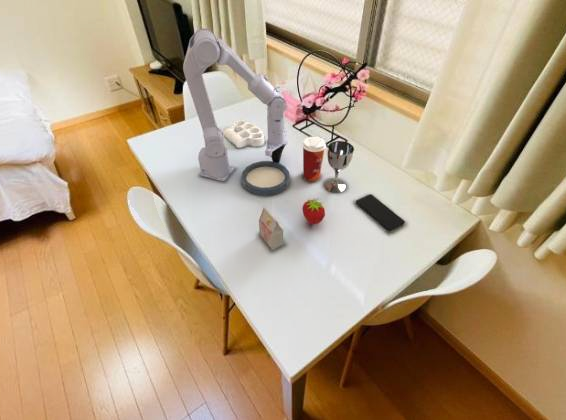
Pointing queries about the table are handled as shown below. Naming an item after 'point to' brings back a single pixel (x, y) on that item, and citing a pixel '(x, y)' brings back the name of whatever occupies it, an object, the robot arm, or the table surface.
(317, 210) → the strawberry
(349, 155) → the silver metal goblet
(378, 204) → the smartphone
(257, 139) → the white tube cluster
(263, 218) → the milk carton
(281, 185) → the plate
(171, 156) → the table surface
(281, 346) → the table surface
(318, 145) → the paper cup
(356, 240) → the table surface
